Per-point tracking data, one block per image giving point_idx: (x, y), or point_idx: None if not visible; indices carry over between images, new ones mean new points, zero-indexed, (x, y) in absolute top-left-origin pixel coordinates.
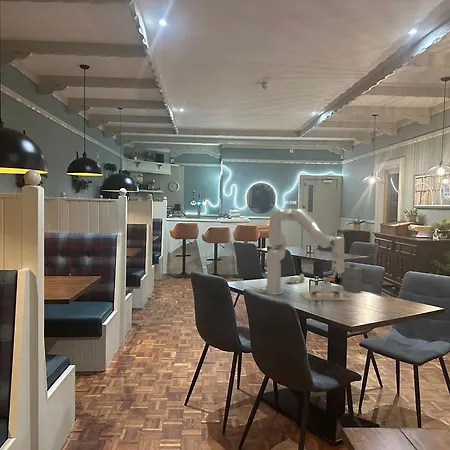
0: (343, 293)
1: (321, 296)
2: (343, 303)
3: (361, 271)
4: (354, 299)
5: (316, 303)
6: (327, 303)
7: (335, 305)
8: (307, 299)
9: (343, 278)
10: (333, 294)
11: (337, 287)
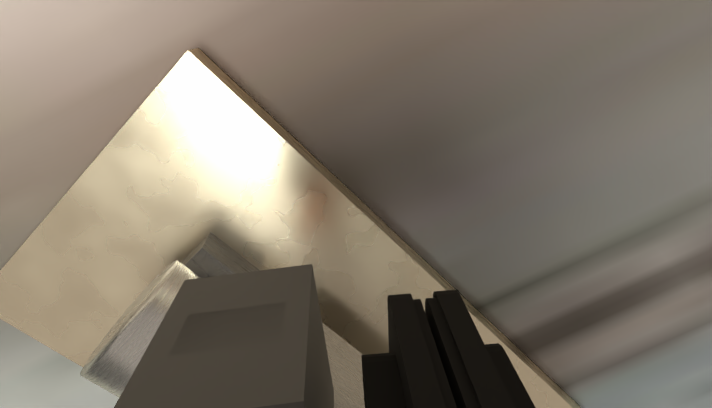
0: (10, 276)
1: None
2: (496, 26)
3: None
4: (105, 23)
5: (686, 269)
6: (620, 185)
7: (683, 54)
8: (573, 402)
9: (139, 395)
10: None
11: None
